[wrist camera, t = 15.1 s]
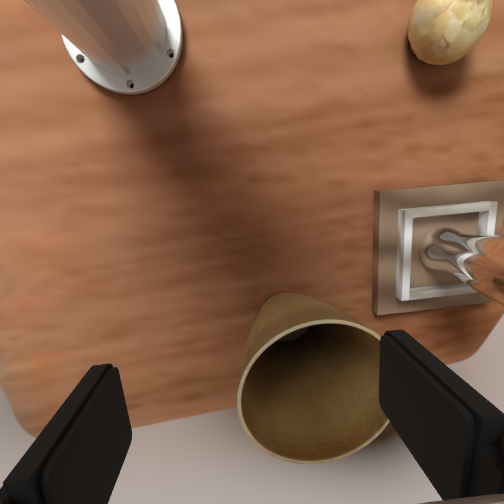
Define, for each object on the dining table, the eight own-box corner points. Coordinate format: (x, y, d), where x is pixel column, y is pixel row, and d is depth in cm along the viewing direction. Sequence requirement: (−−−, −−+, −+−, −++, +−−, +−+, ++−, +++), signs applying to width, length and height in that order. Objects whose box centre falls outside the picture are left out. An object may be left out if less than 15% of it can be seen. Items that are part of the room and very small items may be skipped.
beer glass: (475, 243, 39) (624, 278, 24) (440, 283, 40) (563, 340, 25) (441, 212, 37) (576, 230, 23) (405, 254, 38) (513, 297, 24)
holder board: (374, 191, 38) (386, 191, 35) (497, 180, 38) (519, 179, 36) (372, 310, 41) (383, 320, 39) (483, 298, 42) (502, 306, 39)
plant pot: (228, 359, 42) (227, 463, 26) (241, 260, 38) (249, 312, 23) (327, 366, 43) (382, 469, 28) (347, 272, 40) (422, 328, 24)
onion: (474, 22, 34) (537, -19, 27) (435, 86, 35) (485, 62, 28) (422, -19, 33) (474, -74, 26) (383, 49, 34) (423, 14, 27)
